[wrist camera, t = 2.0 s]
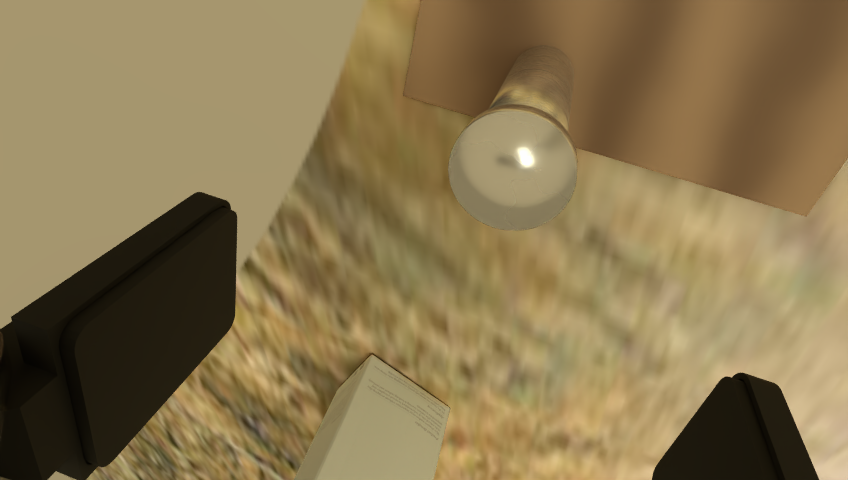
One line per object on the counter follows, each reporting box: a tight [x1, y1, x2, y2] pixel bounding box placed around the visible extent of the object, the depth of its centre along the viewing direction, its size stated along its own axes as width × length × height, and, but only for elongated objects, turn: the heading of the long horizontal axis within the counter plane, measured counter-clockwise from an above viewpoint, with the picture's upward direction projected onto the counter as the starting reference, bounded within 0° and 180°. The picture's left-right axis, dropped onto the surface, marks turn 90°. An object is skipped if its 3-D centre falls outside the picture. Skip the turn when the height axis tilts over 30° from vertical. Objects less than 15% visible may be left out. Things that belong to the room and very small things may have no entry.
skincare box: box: [294, 355, 450, 480], centre depth 38 cm, size 8×6×15 cm
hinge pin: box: [448, 45, 577, 231], centre depth 22 cm, size 4×4×13 cm
